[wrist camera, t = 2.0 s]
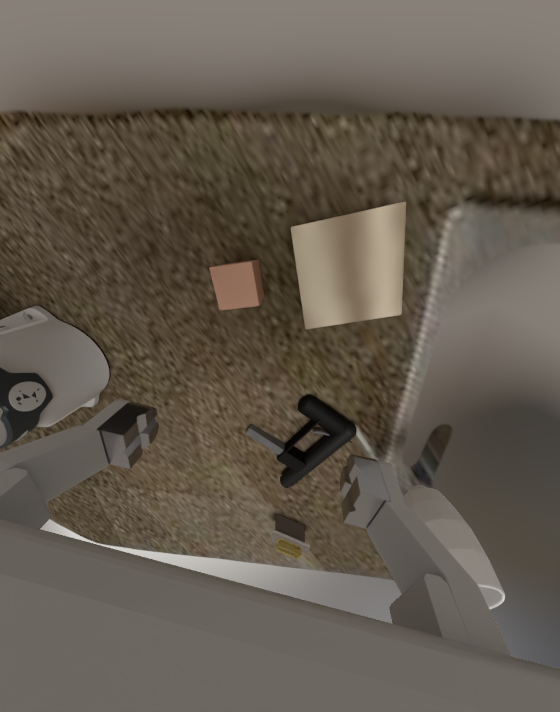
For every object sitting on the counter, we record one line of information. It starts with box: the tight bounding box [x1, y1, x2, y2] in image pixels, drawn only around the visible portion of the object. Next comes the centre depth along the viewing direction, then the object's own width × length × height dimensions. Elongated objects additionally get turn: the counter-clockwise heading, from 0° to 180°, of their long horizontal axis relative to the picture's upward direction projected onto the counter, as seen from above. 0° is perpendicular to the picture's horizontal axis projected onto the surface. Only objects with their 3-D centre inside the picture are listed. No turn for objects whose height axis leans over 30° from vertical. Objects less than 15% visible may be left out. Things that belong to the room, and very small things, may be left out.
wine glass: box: [403, 485, 505, 609], centre depth 32 cm, size 7×7×21 cm
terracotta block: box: [209, 259, 265, 310], centre depth 29 cm, size 5×5×5 cm
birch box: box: [291, 202, 406, 329], centre depth 27 cm, size 11×11×6 cm
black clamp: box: [245, 395, 357, 488], centre depth 42 cm, size 3×20×16 cm
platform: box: [270, 514, 310, 559], centre depth 53 cm, size 12×18×7 cm, turn 59°
